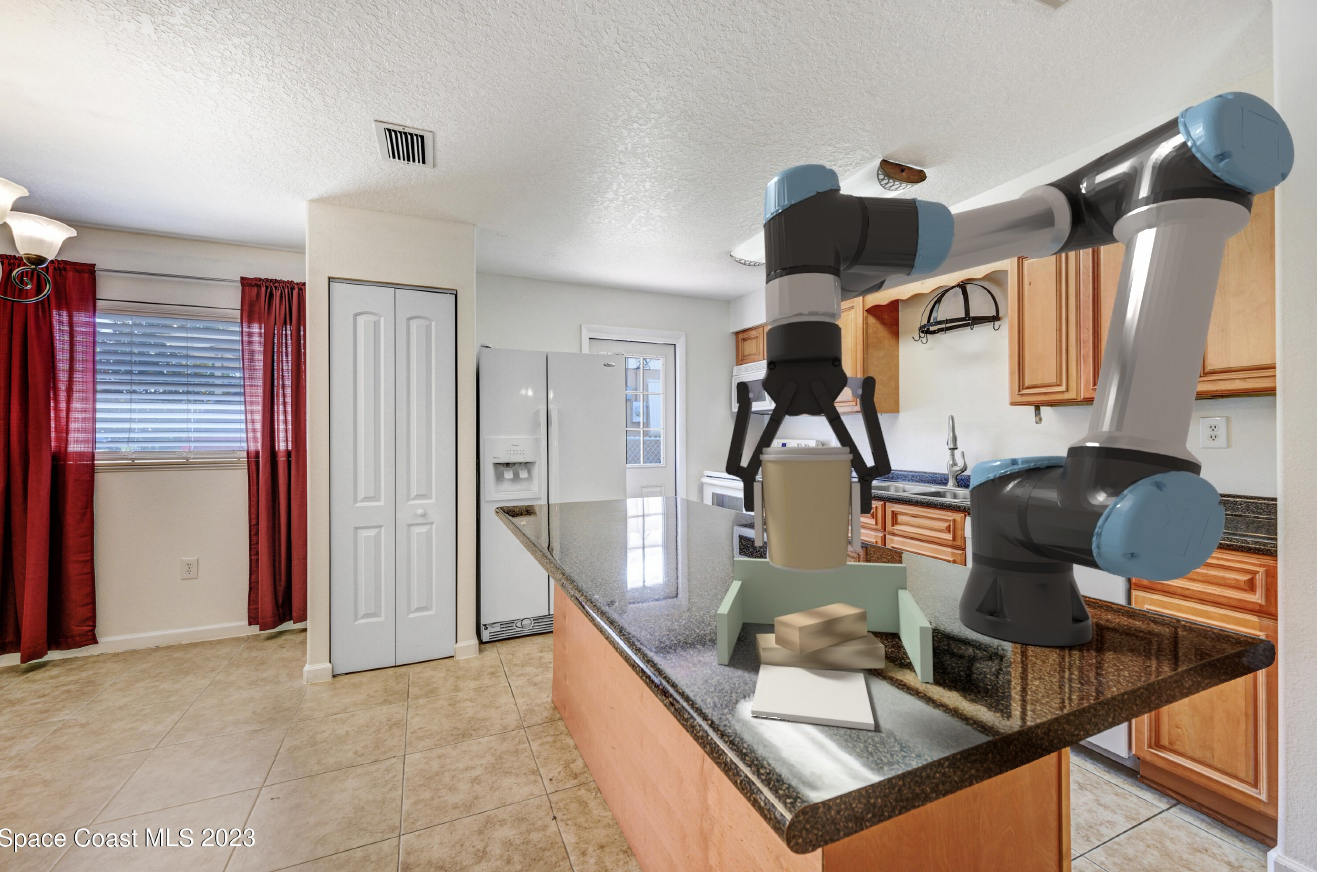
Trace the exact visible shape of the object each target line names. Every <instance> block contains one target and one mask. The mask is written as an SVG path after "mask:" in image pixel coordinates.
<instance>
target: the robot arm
mask: <svg viewBox="0 0 1317 872" xmlns="http://www.w3.org/2000/svg"><path fill="white" fill-rule="evenodd" d="M1294 162H1295V144H1294V140H1293V137H1292V134H1291V132H1290V130H1289V128H1288V125H1287V123H1286V122H1285V121H1284V119H1283V118H1282V116H1281V115H1280V113H1279V112H1278V110H1276V109H1275V108H1274V107H1273V105H1271V104H1270V103H1269V102H1267V101H1266V100H1264V99H1263V98H1261V97H1259V96H1257V95H1255V94H1253V93H1250V92H1242V91H1228V92H1223V93H1220V94H1218V95H1217V94H1216V95H1214V96H1213V97H1211V98H1208V99H1207V100H1204V101H1203V102H1200V103H1199V104H1196V105H1194V106H1193V105H1191V106H1188V107H1186V108H1185V109H1182V111H1181V112H1180V113H1179V114H1178V115H1177V116H1175V117H1173V118H1172V119H1169V120H1168V121H1165V122H1164V123H1162V124H1160V125H1159V126H1157V127H1154V128H1152V129H1150V130H1149V131H1147V132H1145V133H1143V134H1140V135H1139V136H1137V137H1135V138H1133V139H1131V140H1129V141H1127V142H1125V143H1124V144H1122V145H1120V146H1118V147H1116V148H1114V149H1112V150H1111V151H1108V152H1106V153H1104V154H1101V155H1100V156H1099V157H1097V158H1095V159H1093V160H1092V161H1089V162H1088V163H1086V164H1084V165H1083V166H1081V167H1079V168H1077V169H1075V170H1074V171H1072V172H1070V173H1067V175H1064V176H1062V177H1060V178H1058V179H1056V180H1054V181H1051V182H1048V183H1045V184H1042V185H1037V186H1034V187H1031V188H1029V189H1027V190H1026V191H1024V192H1023V193H1022V194H1021V195H1020V196H1019V197H1018V198H1015V199H1010V200H1006V201H1002V202H998V203H994V204H990V205H985V206H981V207H975V208H972V209H968V210H964V211H959V212H957V213H952V212H951V209H949V207H947V206H946V204H944V203H942V202H938V201H930V200H925V199H918V198H917V197H911V198H899V197H879V196H878V197H877V196H860V195H859V196H858V195H853V194H848V193H847V194H845V193H841V191H842V189H841V188H842V186H841V185H840V180H839V179H840V178H839V175H838V173H837V172H836V171H835V170H834V169H833V168H830V167H829V168H828V167H827V166H826V165H824V164H820V163H819V164H818V163H806V164H798V165H795V166H791V167H788V168H785V169H784V170H782V171H780V172H778V173H776V175H774V176H773V177H772V179H771V180H770V181H769V182H768V183H767V186H766V187H765V192H764V202H763V204H764V206H763V221H762V228H763V236H764V237H763V238H764V241H763V242H764V260H765V286H764V289H765V290H764V299H765V301H764V303H765V323H766V324H767V325H768V326H769V327H770V328H768V330H767V331H766V333H765V343H766V346H765V347H766V350H765V351H766V352H765V353H766V361H765V362H766V367H765V368H766V370H765V373H764V376H763V377H762V379H760V380H755V381H748V382H745V381H743V380H742V381H738V382H737V384H736V385H735V386H736V395H737V396H736V397H737V402H738V405H737V411H736V415H735V420H734V425H733V430H732V434H731V438H730V439H731V441H730V443H729V444H730V445H729V449H728V453H727V459H726V463H725V472H726V474H727V475H729V476H732V477H736V478H738V479H740V480H741V481H742V484H743V487H742V488H743V509H744V511H745V513H754V514H753V515H754V516H753V517H754V518H753V519H754V546H755V547H763V546H764V542H765V512H764V500H763V487H762V480H757V477H758V474H759V472H760V471H761V463H762V460H760V455H761V454H762V455H763V448H770V447H772V445H773V442H774V441H775V438H776V436H777V434H778V432H779V431H780V428H781V426H782V424H783V422H784V420H785V419H786V416H788V417H790V418H791V417H799V416H800V417H801V416H802V415H807V416H812V417H820V416H824V418H825V419H826V420H825V421H827V423H828V425H829V426H830V429H831V430H832V432H833V434H834V436H835V437H836V440H837V441H838V443H839V446H841V447H849V449H850V452H849V454H852V455H853V458H852V459H851V464H852V470H853V471H854V473H855V475H856V476H857V480H851V499H850V518H849V521H850V546H851V548H852V550H860V551H861V550H862V535H861V533H862V532H861V531H862V529H861V527H862V526H861V525H862V523H861V515H871V513H872V511H873V487H872V486H873V485H872V484H873V482H874V481H875V480H877V479H879V478H882V477H885V476H888V475H890V474H891V473H892V468H893V467H892V465H891V461H890V458H889V453H888V449H887V446H886V445H887V444H886V441H885V438H884V437H885V436H884V434H883V429H882V426H881V421H880V418H879V417H880V416H879V414H878V410H877V407H876V403H875V393H876V386H877V385H876V384H877V381H876V380H877V379H876V378H875V377H874V376H872V375H867V376H866V377H857V376H848V375H847V373H846V371H845V370H844V368H843V351H842V350H843V347H842V346H843V345H842V343H843V342H842V327H841V326H840V325H839V324H838V321H840V319H841V318H842V302H845V301H848V300H853V299H855V298H860V297H865V296H868V295H871V294H873V293H877V292H882V291H885V290H886V291H887V290H890V289H893V288H898V287H902V286H906V285H909V284H913V283H918V282H920V281H921V282H923V281H925V280H930V279H934V278H937V277H941V276H942V277H943V276H946V275H949V274H953V273H957V272H961V271H962V272H963V271H965V270H970V269H974V268H978V267H981V266H986V265H990V264H993V263H998V262H1001V261H1006V260H1010V259H1014V258H1018V257H1021V256H1022V257H1023V256H1024V257H1025V258H1030V259H1036V260H1037V259H1044V258H1048V257H1053V256H1057V255H1062V254H1067V253H1071V252H1077V251H1082V250H1088V249H1094V248H1099V247H1105V246H1106V247H1107V246H1110V245H1114V244H1119V243H1121V244H1122V245H1123V246H1125V249H1124V254H1123V259H1122V263H1121V264H1122V265H1121V269H1120V272H1119V278H1118V282H1117V287H1116V292H1115V297H1114V302H1113V307H1112V312H1111V317H1110V322H1109V326H1108V330H1107V331H1108V332H1107V335H1106V336H1107V337H1106V341H1105V344H1104V345H1105V346H1104V351H1103V356H1102V361H1101V364H1100V365H1101V366H1100V371H1099V375H1098V381H1097V385H1096V391H1095V394H1094V399H1093V404H1092V408H1091V414H1090V419H1089V424H1088V429H1087V433H1086V434H1085V436H1083V437H1082V438H1080V439H1078V440H1077V441H1075V442H1073V443H1071V444H1069V445H1068V447H1067V451H1066V456H1065V455H1040V456H1039V455H1038V456H1025V457H1024V456H1023V457H1022V456H1021V457H1013V458H1011V457H1010V458H1000V459H992V460H985V461H981V462H978V463H976V464H975V465H974V466H973V467H972V468H971V470H970V480H969V487H968V494H969V514H970V515H969V516H970V536H971V537H970V538H971V569H970V571H969V574H968V577H967V580H966V583H965V585H964V588H963V592H962V593H961V594H962V595H961V597H960V600H959V604H958V605H959V606H958V610H959V611H958V613H959V617H958V618H959V621H960V622H961V624H963V625H964V626H966V627H967V628H969V629H971V630H973V631H975V632H977V633H980V634H983V635H986V636H989V637H992V638H996V639H1000V640H1005V641H1009V642H1015V643H1019V644H1020V643H1021V644H1028V645H1033V646H1034V645H1037V646H1047V647H1050V646H1051V647H1067V646H1068V647H1069V646H1070V647H1071V646H1078V645H1083V644H1087V643H1089V642H1090V641H1092V639H1093V622H1092V617H1091V615H1090V612H1089V610H1088V608H1087V605H1086V603H1085V601H1084V599H1083V596H1082V593H1081V591H1080V588H1079V585H1078V583H1077V581H1076V578H1075V575H1074V565H1078V566H1080V567H1086V568H1089V569H1093V570H1097V571H1102V572H1106V573H1107V574H1109V575H1113V576H1117V577H1121V578H1127V579H1139V580H1143V581H1150V582H1169V581H1175V580H1179V579H1181V578H1184V577H1186V576H1188V575H1189V574H1190V573H1192V571H1195V570H1198V569H1200V568H1201V567H1202V566H1203V565H1205V563H1206V562H1207V561H1208V560H1209V559H1210V558H1211V556H1212V555H1214V552H1215V551H1216V550H1217V548H1218V546H1219V544H1220V541H1221V539H1222V537H1223V534H1224V529H1225V525H1226V524H1225V523H1226V512H1225V507H1224V506H1223V505H1222V504H1220V501H1221V499H1222V497H1221V494H1220V493H1219V491H1218V489H1216V487H1215V486H1214V485H1213V484H1212V483H1211V482H1209V480H1207V479H1205V478H1204V477H1201V473H1202V466H1203V465H1202V462H1201V460H1199V459H1198V458H1197V457H1196V456H1195V455H1194V454H1193V453H1192V451H1190V450H1189V449H1188V447H1187V441H1188V436H1189V432H1190V427H1191V421H1192V416H1193V412H1194V411H1193V410H1194V407H1195V401H1196V395H1197V391H1198V386H1199V381H1200V376H1201V369H1202V366H1203V365H1202V364H1203V361H1204V355H1205V350H1206V344H1207V339H1208V334H1209V329H1210V324H1211V319H1212V314H1213V309H1214V305H1215V299H1216V293H1217V289H1218V283H1219V279H1220V273H1221V269H1222V268H1221V267H1222V263H1223V258H1224V252H1225V249H1226V248H1225V247H1226V242H1227V241H1228V240H1230V239H1231V238H1233V237H1235V236H1237V235H1238V234H1239V233H1241V232H1242V231H1243V230H1245V228H1246V227H1247V226H1248V225H1249V222H1250V218H1251V214H1252V208H1253V205H1254V201H1255V200H1254V199H1255V198H1256V196H1257V195H1261V194H1265V193H1267V192H1269V191H1271V190H1273V189H1274V188H1276V187H1278V186H1279V185H1280V184H1282V182H1284V181H1285V180H1286V179H1287V178H1288V176H1289V175H1290V173H1291V172H1292V170H1293V166H1294ZM845 388H848V389H850V391H851V394H852V397H853V398H855V399H857V400H858V401H859V402H858V403H859V408H860V413H861V416H862V421H863V425H864V429H865V433H866V437H867V440H868V444H869V448H870V453H871V457H872V460H873V465H870V466H868V465H867V463H866V461H865V459H864V457H863V455H862V454H861V452H860V449H859V447H858V446H857V444H856V443H855V441H854V439H853V437H852V435H851V433H850V431H849V429H848V428H847V426H846V424H845V422H844V420H843V419H842V416H841V414H840V413H839V410H838V409H837V407H836V405H835V403H836V400H837V399H838V398H839V396H840V395H841V394H842V392H843V391H844V389H845ZM762 391H764V392H765V393H766V394H767V396H768V397H769V398H770V400H771V401H772V402H773V403H774V405H775V406H774V407H773V410H772V412H771V413H770V416H769V419H768V421H767V423H766V425H765V426H764V429H763V431H762V433H761V435H760V438H759V440H758V441H757V444H756V446H755V448H754V450H753V452H752V454H751V456H750V458H749V460H748V463H747V464H746V466H743V465H742V459H743V454H744V451H745V450H744V449H745V445H746V441H747V436H748V435H747V434H748V430H749V425H750V420H751V415H752V411H753V403H755V402H757V401H758V400H759V394H760V393H761V392H762Z"/></svg>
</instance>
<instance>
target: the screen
mask: <svg viewBox="0 0 1317 872" xmlns="http://www.w3.org/2000/svg"><path fill="white" fill-rule="evenodd" d="M907 571H908V570H907V565H906V563H905V564H903V563H881V562H858V561H857V562H854V561H851V562H850V561H847V564H846V567H845V568H844V569H842V570H839V571H833V572H823V573H808V572H795V571H788V570H783V569H779V568H776V567H774V566H772V565H771V564H770V563H769V558H747V557H746V558H745V557H743V558H742V557H734V558H733V581H732V584H731V585H730V587H729V588H728V591H727V592H726V594H725V597H724V598H723V600H722V602H721V604H720V605H719V608H718V609H717V612H716V640H717V642H716V646H717V648H716V649H717V650H716V651H717V654H716V655H717V665H726V666H727V665H729V663H730V660H731V658H732V654H733V652H734V649H735V646H736V643H737V640H738V637H739V635H740V632H741V629H742V627H743V623H747V624H748V623H749V624H764V625H774V618H777V617H781V616H786V615H790V614H794V613H798V612H803V611H807V610H811V609H815V608H820V607H824V606H828V605H833V604H837V603H843V604H847V605H850V606H854V607H857V608H861V609H864V610H866V613H867V632H868V631H869V632H882V633H894V634H895V633H896V634H898V636H899V637H900V640H901V642H902V644H903V646H904V649H905V651H906V654H907V655H908V657H909V659H910V661H911V664H912V666H913V668H914V671H915V672H916V675H917V677H918V679H919V681H920V683H925V682H929V683H928V684H934V671H933V668H934V667H933V666H934V665H933V662H934V661H933V628H932V627H933V626H932V625H931V624H930V622H929V620H928V619H927V618H926V616H925V614H924V613H923V611H922V609H920V607H919V605H918V603H917V602H916V600H915V599H914V597H913V596H912V594H911V593H910V591H909V590H908V581H907V580H908V577H907V576H908V574H907V573H908V572H907Z"/></svg>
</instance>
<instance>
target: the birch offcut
mask: <svg viewBox="0 0 1317 872" xmlns="http://www.w3.org/2000/svg"><path fill="white" fill-rule="evenodd" d="M885 648H886V647H885V645H884V644H883V643H882V642H881V641H880V640H879V639H878V638H877V637H876V636H874V635H873V633H872V632H867V635H866V636H863V637H859V638H856V639H852V640H849V641H845V642H842V643H838V644H835V645H831V646H828V647H824V648H821V649H817V650H814V651H810V652H807V653H803V654H797V653H795V652H793V651H790V650H788V649H786V648H783V647H781V646H779V645H776V644H775V633H755V654H756V657H757V659H758V662H759V665H760V666H761V664H763V665H774V666H785V667H797V668H808V669H819V670H830V669H831V670H832V669H835V670H836V669H840V670H841V669H842V670H843V669H847V670H848V669H885V668H886V659H885V658H886V657H885V656H886V654H885Z"/></svg>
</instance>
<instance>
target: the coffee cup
mask: <svg viewBox="0 0 1317 872" xmlns="http://www.w3.org/2000/svg"><path fill="white" fill-rule="evenodd" d="M849 452H850V449H849V447H841V445H839V446H835V445H833V446H831V445H829V446H828V445H827V446H826V445H825V446H824V445H822V446H821V445H820V446H816V445H813V446H810V445H809V446H771V447H770V448H763V455H762V454H761V455H760V460H762V463H761V468H760V471H761V481H762V487H763V500H764V525H765V534H766V545H767V554H768V555H767V556H768V559H769V563H770V564H771V565H772V566H774V567H776V568H779V569H783V570H788V571H795V572H808V573H823V572H833V571H839V570H842V569H844V568H845V567H846V564H847V562H848V552H849V551H848V550H849V549H848V548H849V536H850V535H849V534H850V533H849V532H850V531H849V530H850V499H851V481H852V471H853V467H852V464H851V459H852V458H853V455H852V454H849Z"/></svg>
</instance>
